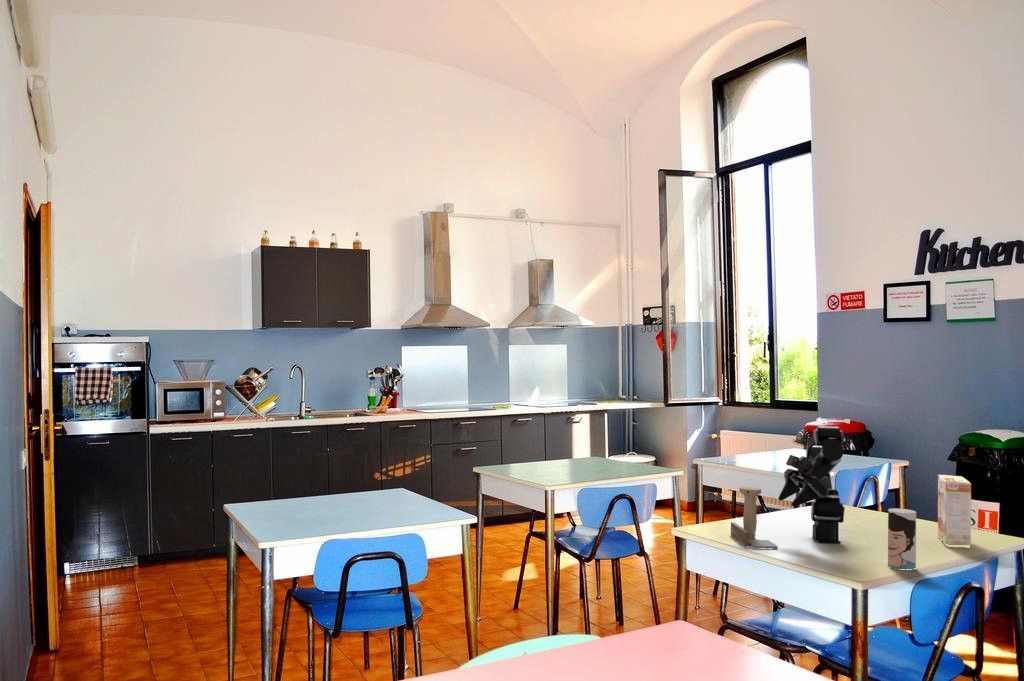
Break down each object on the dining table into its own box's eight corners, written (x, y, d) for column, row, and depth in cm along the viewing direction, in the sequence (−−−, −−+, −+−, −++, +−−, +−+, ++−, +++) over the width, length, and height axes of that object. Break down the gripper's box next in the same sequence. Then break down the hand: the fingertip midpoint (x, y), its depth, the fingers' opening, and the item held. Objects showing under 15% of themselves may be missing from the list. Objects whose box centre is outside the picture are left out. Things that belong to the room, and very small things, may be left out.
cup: (888, 563, 223) (888, 507, 223) (915, 566, 220) (916, 510, 220) (887, 568, 217) (887, 511, 217) (915, 572, 214) (916, 514, 214)
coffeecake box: (936, 536, 257) (937, 474, 258) (962, 538, 255) (962, 475, 255) (944, 547, 243) (944, 481, 244) (971, 549, 241) (972, 482, 241)
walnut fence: (734, 535, 255) (734, 522, 255) (749, 546, 240) (749, 532, 240) (730, 535, 255) (730, 522, 255) (745, 546, 240) (745, 532, 240)
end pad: (768, 542, 245) (768, 540, 245) (777, 549, 237) (777, 546, 237) (745, 542, 245) (745, 539, 245) (754, 549, 237) (754, 546, 237)
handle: (757, 540, 248) (758, 490, 248) (736, 537, 252) (737, 488, 252) (762, 537, 252) (763, 488, 252) (742, 534, 256) (742, 486, 256)
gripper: (790, 442, 252) (755, 478, 251) (818, 449, 234) (780, 488, 233) (814, 467, 253) (779, 503, 252) (844, 477, 234) (806, 516, 233)
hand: (785, 502), depth 243 cm, fingers open, 9 cm apart
